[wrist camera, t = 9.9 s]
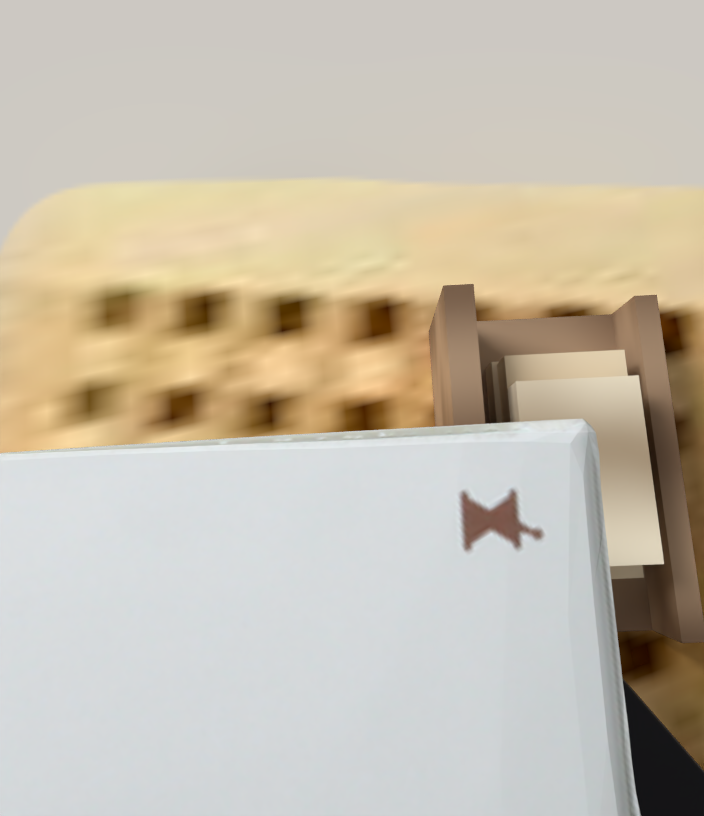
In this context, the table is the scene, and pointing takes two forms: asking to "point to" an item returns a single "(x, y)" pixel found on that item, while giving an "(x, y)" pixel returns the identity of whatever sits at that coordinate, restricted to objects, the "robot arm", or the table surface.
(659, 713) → the table surface
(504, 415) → the offcut stack
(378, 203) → the table surface
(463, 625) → the supplement box
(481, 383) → the tray
